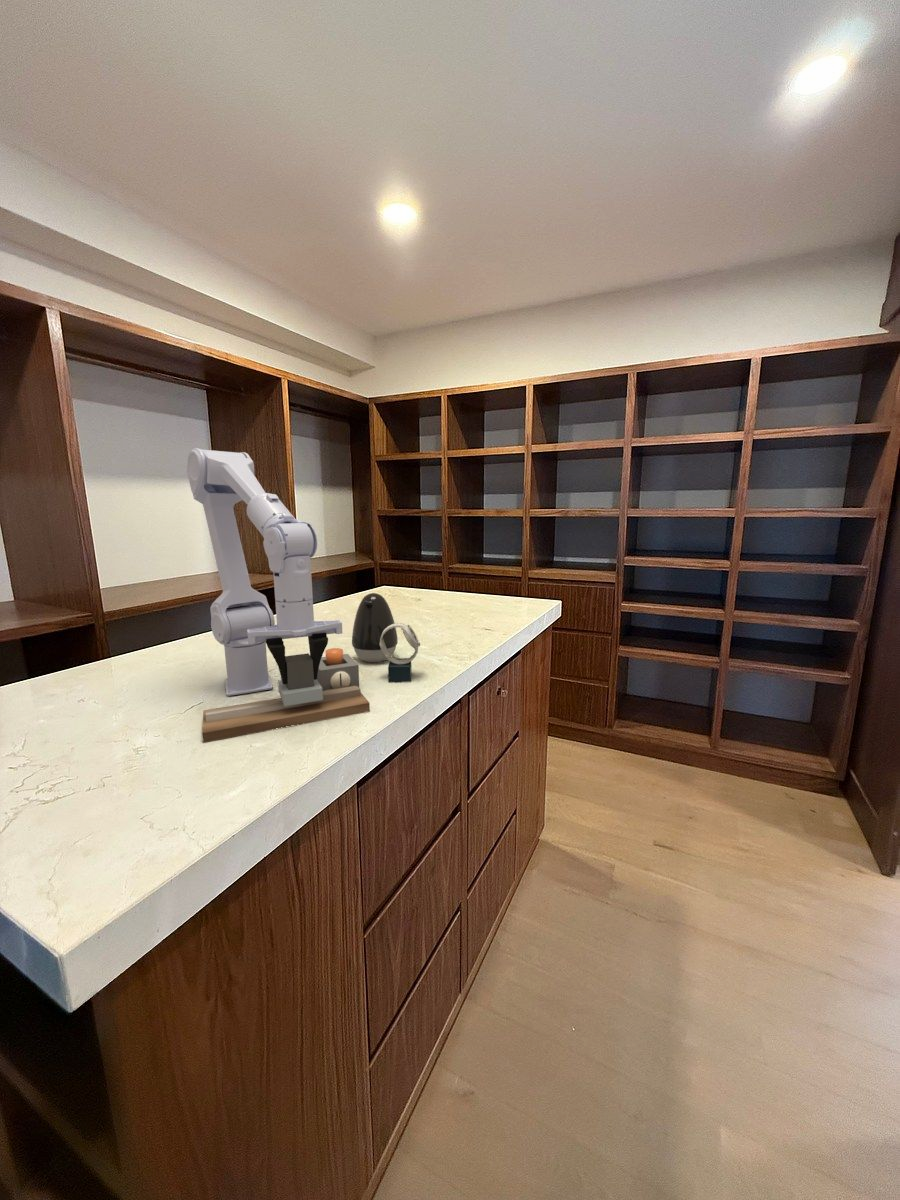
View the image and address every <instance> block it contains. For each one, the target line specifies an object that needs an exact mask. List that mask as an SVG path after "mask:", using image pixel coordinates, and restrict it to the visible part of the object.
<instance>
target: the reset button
mask: <svg viewBox="0 0 900 1200" xmlns="http://www.w3.org/2000/svg"><path fill="white" fill-rule="evenodd" d="M324 653H325V657H326V664H327V665H338V664H342V663H343V654H344V650H343V648H339V647H337V648H336V647H333V648H327V649H325V650H324Z"/></svg>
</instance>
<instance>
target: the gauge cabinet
mask: <svg viewBox="0 0 900 1200" xmlns="http://www.w3.org/2000/svg"><path fill="white" fill-rule="evenodd" d="M359 670H360V666H359V664H358V663H357V662H356V661H355V659H354V658H352V656H351V655H350V654H349V653H343V663H342V664H338V665H327V664H326V656H322V658H321V661H320V664H319V669H318V674H317V680H318V682H319V684H320V685H321V687H322V691H325V690H331V689H337V688H343V687H350V686H358V687H359V688H360V671H359Z"/></svg>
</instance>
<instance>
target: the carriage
mask: <svg viewBox="0 0 900 1200" xmlns="http://www.w3.org/2000/svg"><path fill="white" fill-rule="evenodd" d="M285 665H286V672H287V682H288V684H283V683H282V679H278V681H277V687H278V693H279V697H280V698H281V699H282V702H283V705H284V706H290V705H296V704H302V703H308V702H314V701H320V700H323V691H322V687H321V685H320V684H319V682H318V680H314V673H313V659H312V658H311V656H310V652H309V653H300V654H293V655H285Z"/></svg>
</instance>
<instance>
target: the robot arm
mask: <svg viewBox="0 0 900 1200" xmlns="http://www.w3.org/2000/svg"><path fill="white" fill-rule="evenodd" d="M186 473H187V476H188V477H187V478H188V481H189V487H190V491H191V493H192V497H193V499H194V500H195V501H197V502H199V503H200V504H202V506H203V511H204V515H205V519H206V524H207V527H208V531H209V536H210V540H211V545H212V549H213V554H214V559H215V563H216V567H217V572H218V575H219V580H220V585H221V589H222V593H221V594H220V595H219V596H218V597H217V598H216V599H215V600H214V601H213V602H212V603H211V606H210V607H209V608H210V609H209V610H210V617H211V618H210V620H211V621H210V627H211V633H212V635H213V637H214V639H215V640H216V641H217V642H218V643H219V644H220V645H223V647H224V656H225V657H224V658H225V667H226V678H225V679H224V682H225V694H226V697H231V696H236V695H243V694H250V693H256V692H264V691H269V690H273V689H274V687H273V684H272V680H271V677H270V675H269V669H268V668H269V667H268V656H267V648H268V651H269V652H270V653H271V655H272V657H273V659H274V661H275V663H276V666H277V667H278V670H279V674H280V680H282V683H283V684H288V682H287V672H286V665H285V656H286V646H285V644H284V640H288V639H289V640H290V639H298V638H308V639H307V640H308V648H309V655H310V656H311V658H312V659H313V673H314V680H317V674H318V669H319V664H320V661H321V658H322V657H323V655H324V653H325V651H326V648H327V645H328V643H329V638H328V637H329V636H328V635H331V634H333V635H334V634H336V635H342V634H343V622H342V621H341V620H339V619H338V620H318V621H317V620H315V616H314V599H313V598H314V595H313V582H312V581H313V580H312V565H311V564H312V560H311V558H313V557H314V556H315V554H316V552H317V549H318V536H317V534H316V530H315V529H314V527H313V526H312V523H310V522H309V521H302V520H301V519H296V518H295V516H294V515H293V514H292V513H291V512H290V510H289V509H288V508H287V507H286V506H285V504H284V503H283V502H282V501H281V499H280V498H279V496H278V495H277V494H275V493H269V492H266V491H265V490H264V488H263V487H262V485H261V483H260V482H259V480H258V479H257V477H256V476H255V464H254V460H252V458H251V456H250V455H249V454H248V453H247V452H245V451H242V452H241V451H240V452H235V451H223V450H221V451H220V450H214V449H213V450H212V449H209V450H208V449H201V448H198V447H194V448H192V449H191V451H190V452H189V454H188V456H187V464H186ZM242 501H243V502H244V503H245V504H246V505H247V506H246V514H247V515H246V516H247V517H248V519H249V520H250V522H251V523H252V524H253V525H254V527H255V528H256V529H257V530H258V532H259V533H260V535H261V536H262V537H263V543H262V544H263V549H264V553H265V555H266V556H267V559H268V568H269V570H270V572H272V573H273V575H272V576H273V586H274V599H275V600H274V602H275V614H276V620H275V616H274V615H275V614H274V613H273V610H272V609H271V608H270V605H269V602H268V599H267V596H266V595H265V594H263V593H261V592H259V591H258V590H256V589H254V588H253V587H252V586H251V585H252V584H251V580H250V575H249V571H248V567H247V563H246V558H245V554H244V550H243V546H242V541H241V537H240V536H241V535H240V532H239V528H238V523H237V519H236V515H235V510H234V507H235V505H236V504H237V503H240V502H242ZM275 621H276V624H275Z"/></svg>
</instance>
